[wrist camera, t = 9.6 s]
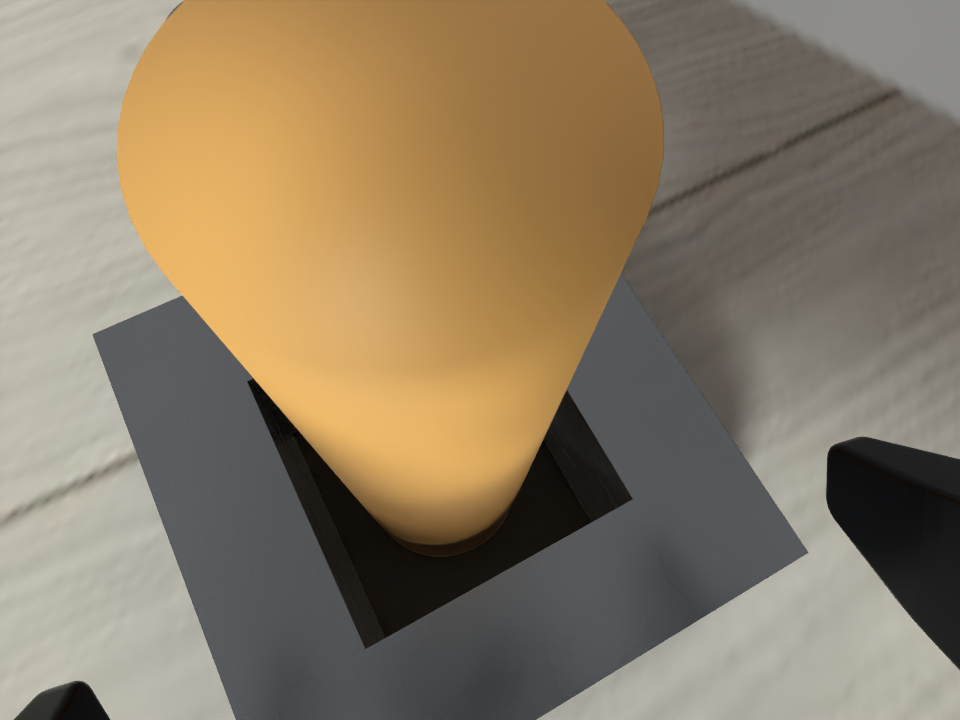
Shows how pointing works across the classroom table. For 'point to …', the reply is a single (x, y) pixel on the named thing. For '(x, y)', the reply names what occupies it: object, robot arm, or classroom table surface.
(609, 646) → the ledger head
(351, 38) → the orange cylinder
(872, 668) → the classroom table surface
